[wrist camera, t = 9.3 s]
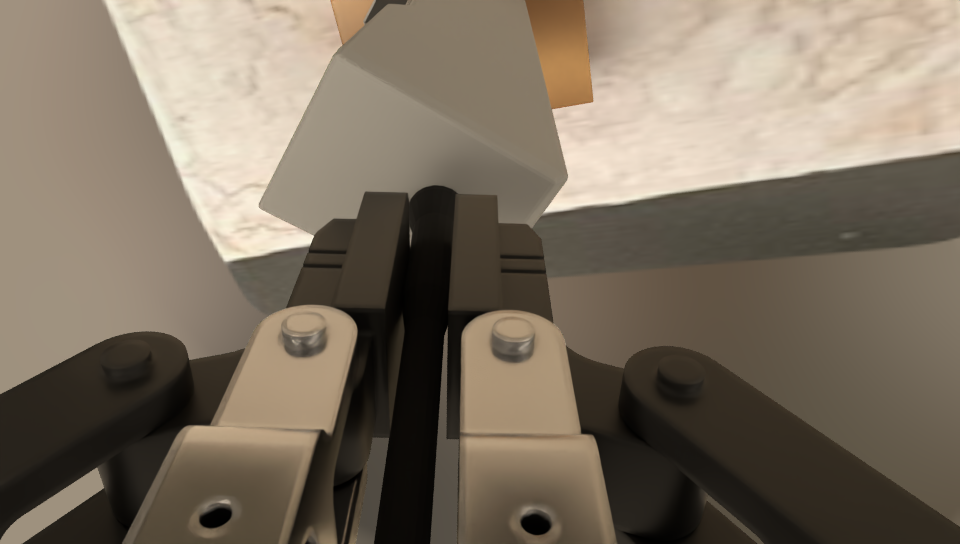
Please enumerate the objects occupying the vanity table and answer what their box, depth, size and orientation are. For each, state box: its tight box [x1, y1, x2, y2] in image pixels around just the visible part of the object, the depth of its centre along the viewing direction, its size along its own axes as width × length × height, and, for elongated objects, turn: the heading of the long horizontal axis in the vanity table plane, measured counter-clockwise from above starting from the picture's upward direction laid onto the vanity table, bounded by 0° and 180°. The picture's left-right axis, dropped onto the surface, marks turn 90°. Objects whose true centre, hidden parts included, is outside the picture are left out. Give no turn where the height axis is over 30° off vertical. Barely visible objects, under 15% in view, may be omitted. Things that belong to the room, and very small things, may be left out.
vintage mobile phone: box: [259, 0, 568, 544], centre depth 18 cm, size 4×5×25 cm
